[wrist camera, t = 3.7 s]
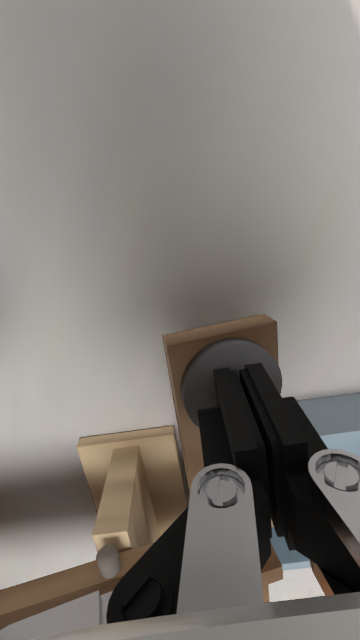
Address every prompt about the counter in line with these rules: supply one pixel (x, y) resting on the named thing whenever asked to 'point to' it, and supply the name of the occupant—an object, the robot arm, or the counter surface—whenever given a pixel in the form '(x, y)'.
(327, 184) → the counter surface
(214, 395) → the lever
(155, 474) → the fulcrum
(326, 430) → the dish
